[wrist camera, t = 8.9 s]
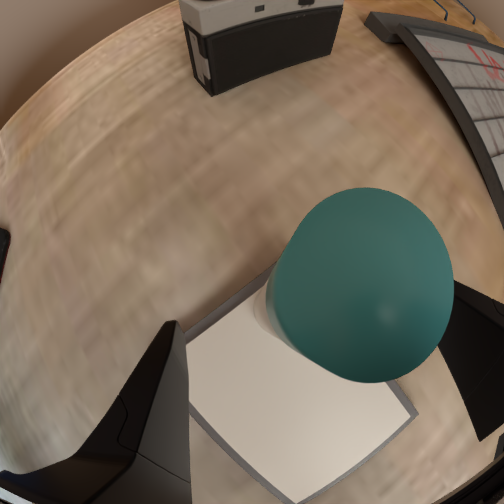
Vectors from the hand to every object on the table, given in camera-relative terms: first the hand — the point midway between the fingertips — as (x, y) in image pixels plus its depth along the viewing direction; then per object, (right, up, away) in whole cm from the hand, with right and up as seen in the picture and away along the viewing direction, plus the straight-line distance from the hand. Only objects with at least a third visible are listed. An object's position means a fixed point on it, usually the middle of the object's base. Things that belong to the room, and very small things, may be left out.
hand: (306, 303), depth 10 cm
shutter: (+33, +23, +15) cm, 43 cm away
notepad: (+1, -8, +7) cm, 11 cm away
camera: (-2, +22, +14) cm, 26 cm away
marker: (0, -2, +8) cm, 8 cm away
